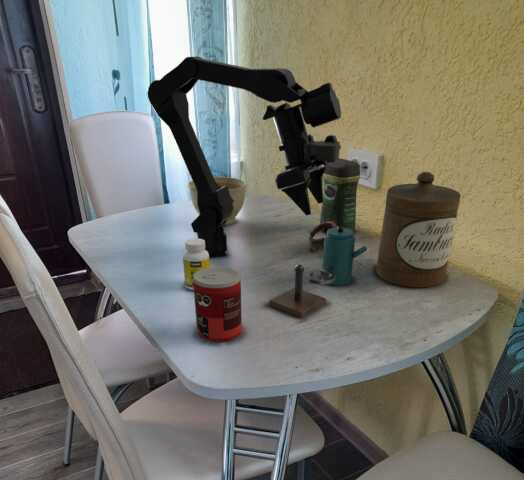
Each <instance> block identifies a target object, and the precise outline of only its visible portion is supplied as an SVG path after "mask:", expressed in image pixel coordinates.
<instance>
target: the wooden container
mask: <svg viewBox="0 0 524 480" xmlns="http://www.w3.org/2000/svg"><path fill="white" fill-rule="evenodd" d="M416 180H417V182H416V183H402V184H395V185H393V186H390V187H388V188H387V191H386V197H385V207H384V214H383V220H382V226H381V233H380V239H379V245H378V252H377V253H378V254H377V261H376V270H375V271H376V272H375V273H376V274H377V276H379V278H380V279H382V280H384V281H385V282H388V283H390V284H394V285H397V286H402V287H408V288H429V287H433V286H436V285H439V284H441V283H442V282H443V281H444V280H445V277H446V272H447V269H448V263H449V258H450V254H451V252H452V251H451V250H452V246H453V239H454V233H455V228H456V224H457V217H458V211H459V207H460V202H461V198H462V197H461V196H462V195H461V193H460V192H459V191H457V190H455V189H453V188H450V187H447V186H442V185H437V184H433V182H434V181H435V175H434V174H433V173H432V172H430V171H422V172H421V173H419V174H418V175H417V176H416Z"/></svg>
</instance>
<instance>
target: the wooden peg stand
mask: <svg viewBox="0 0 524 480" xmlns="http://www.w3.org/2000/svg"><path fill="white" fill-rule="evenodd" d="M304 272H305V267H304V265H302V264H296V265H295V266H294V287H292V288H291V289H289V290H287V291H285V292H283V293H281V294H279V295H276V296H275V297H273V298H271V299H269V304H268V305H269V306H270V307H271V308H275V309H277V310H280V311H283V312H285V313H287V314H289V315H293V316H295V317H298V318H301V319H303V318H304V317H307V316H308V315H309V314H312V313H313V312H315V311H317V310H318V309H320V308H322V307H324V306H325V305H326V304H327V298H325V297H323V296H321V295H317V294H314V293H311V292H309V291H305V290H303V283H304V282H303V281H304V280H303V279H304Z"/></svg>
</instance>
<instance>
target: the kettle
mask: <svg viewBox="0 0 524 480" xmlns="http://www.w3.org/2000/svg"><path fill="white" fill-rule="evenodd" d="M323 238H324V249H322V250H323V251H322V252H323V253H322V266H321V268H322V269H313V270H309V271H308V272H307V273H305V280H306V281H307V282H308V283H309V284H314V285H320V286H321V285H329V286H330V285H331V286H335V287H337V286H346V285H349V284H350V283H351V282H352V276H353V275H352V274H353V265H354V259H356V258H357V257H359V256H360V255H362V254H364V253H366V252H367V251H368V248H367V246H365V245H364V246H361V247H360V248H358V249H357V250H355V247H356V246H355V245H356V234H355V233H354V231H352V230H350V229H347V228H343V227H338V228H331V229H328V230H327V233H325V234H324V236H323ZM319 275H321V279H319V278H315V277H314V278H313V276H319Z"/></svg>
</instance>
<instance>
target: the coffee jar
mask: <svg viewBox="0 0 524 480" xmlns="http://www.w3.org/2000/svg"><path fill="white" fill-rule="evenodd" d="M324 166H328V168H327V169H326V171H325V173H324V174H323V202H322V203H321V210H320V211H321V212H320V218H319V224H321V223H324V222H330V221H333V222H334V223H335V224H336V226H339V227H343V228H347V229H350V230H352V231H353V232H354V231H355V230H356V223H357V218H356V217H357V193H358V192H357V191H358V184H359V182H360V179H361V165H360V163H359V162H358V161H353V160H349V159H345V158H341V157H339V159H337V160H336V161H335V162H332V163H328V164H327V165H323V167H324Z"/></svg>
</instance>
